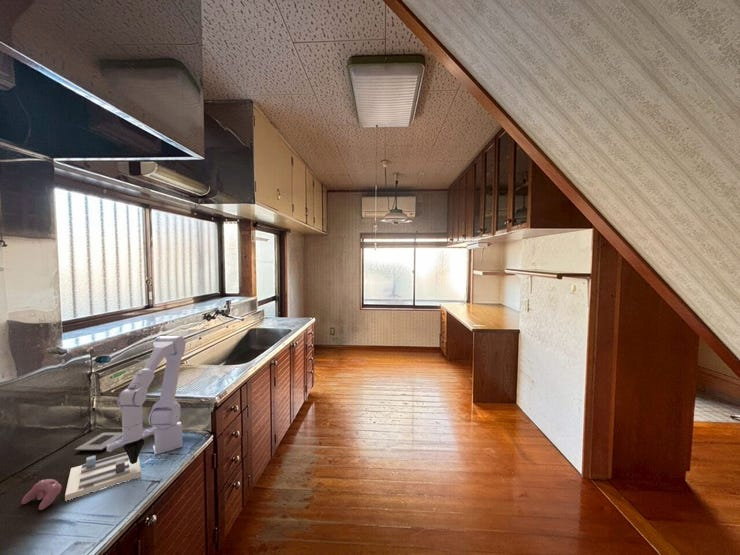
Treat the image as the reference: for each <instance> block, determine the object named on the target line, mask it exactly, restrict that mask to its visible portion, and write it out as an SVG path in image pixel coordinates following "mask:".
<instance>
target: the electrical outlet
mask: <svg viewBox="0 0 740 555" xmlns="http://www.w3.org/2000/svg"><path fill="white" fill-rule="evenodd" d="M122 437H123V434H122V432H102V433H100V434H97V436H94V437H93V438H91V439H89V440H88V441H86V442H85V443H83V444H82V445H79V446H77V447H76V448H74V451H77V452H78V451H80V452H81V451H83V452H85V451H87V452H89V451H91V452H93V451H99V452H101V451H103V450H105V449H107V446H106V445H108V444H110V443H112V442H114V441H116V440H118V439H120V438H122Z"/></svg>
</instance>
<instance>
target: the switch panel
mask: <svg viewBox="0 0 740 555" xmlns="http://www.w3.org/2000/svg"><path fill="white" fill-rule="evenodd" d="M139 456H140V455H139ZM139 456H138V460H137V463H134V464H131V463H130V461H129V457H128V455H127V453H126V452H122V453H119V454H115V455H112V456H108V457H105V458H101V459H98V460H96V466H95V467H92V468H88V469H86V463H83V464H81V465H78V466H74V467H71V468H70V472H69V476H68V480H67V485H66V489H65V494H64V501H66V502H68V501H67V500H69V501H72V500H74V499H73V498H76V497H79V496H82V495H84V494H87V493H89V492H92V491H95V490H98V489H101V488H104V487H108V486H111V485H114V484H117V483H121V482H124V481H128V480H131V479H134V478H137V477H140V476H141V477H142V470H141V463H140V457H139ZM121 460H124V461H125V471H123V472H120V473H117V474H116V462H117V461H121ZM141 477H140V478H141ZM137 479H138V478H137ZM134 480H135V479H134ZM131 481H132V480H131ZM128 482H129V481H128ZM82 497H83V496H82ZM79 498H80V497H79ZM71 499H72V500H71ZM76 499H77V498H76Z"/></svg>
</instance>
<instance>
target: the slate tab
mask: <svg viewBox="0 0 740 555" xmlns="http://www.w3.org/2000/svg"><path fill="white" fill-rule="evenodd" d="M96 461H97V460H96V455H91V456H88V457H86V460H85V464H86V469H88V468H92V467H95V466H96Z"/></svg>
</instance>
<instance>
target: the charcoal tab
mask: <svg viewBox="0 0 740 555" xmlns="http://www.w3.org/2000/svg"><path fill="white" fill-rule="evenodd" d="M123 471H125V461H124V460H121V461H117V462H116V474H117V473H120V472H123Z"/></svg>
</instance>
